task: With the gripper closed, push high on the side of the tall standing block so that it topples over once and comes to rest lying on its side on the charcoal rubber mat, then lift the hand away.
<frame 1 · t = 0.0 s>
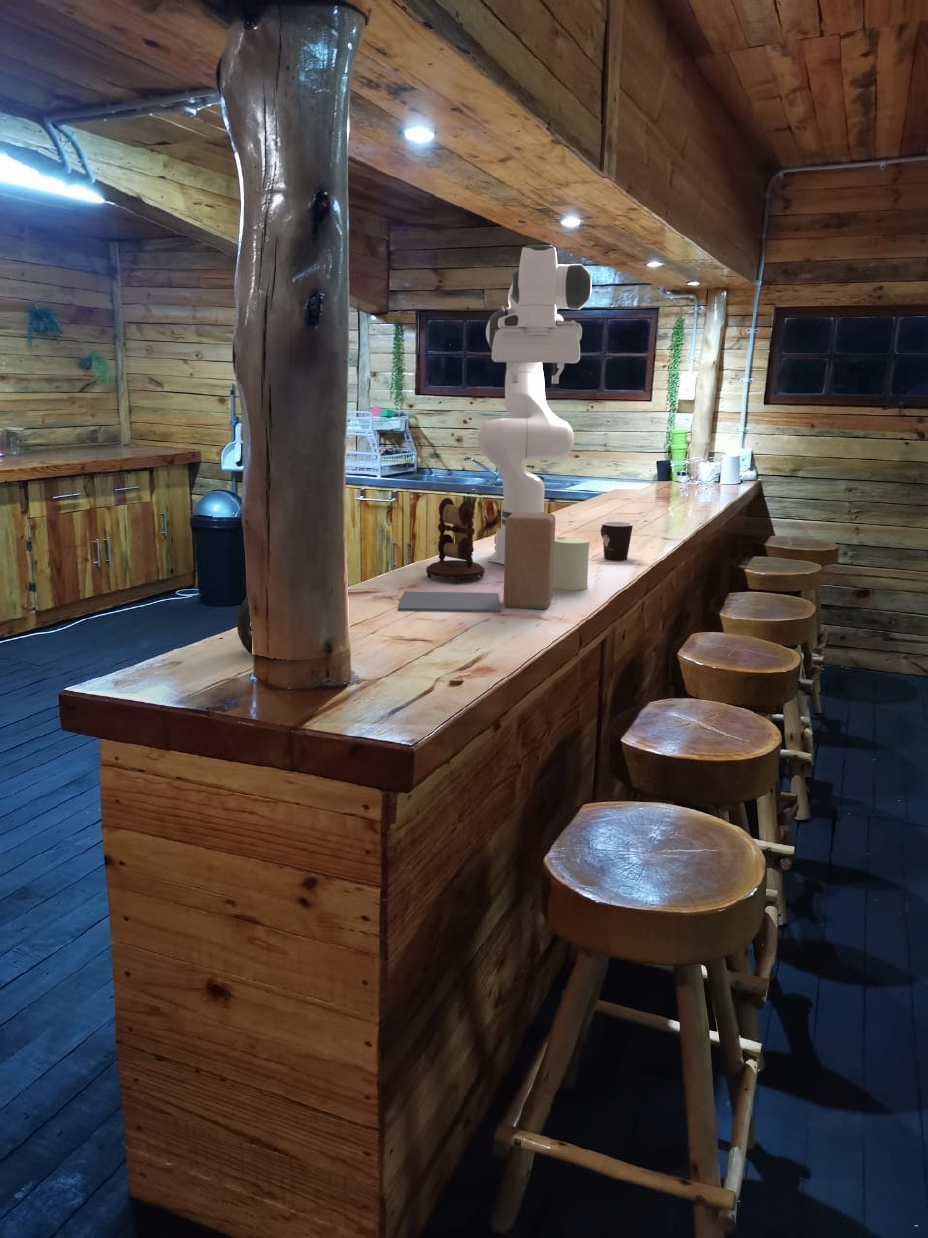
hand: (534, 383, 206), 48 cm above the countertop, fingers open, 8 cm apart
can: (568, 587, 219), on the countertop
squash: (280, 654, 162), on the countertop
wooden spool stand: (455, 578, 227), on the countertop
coffee mug: (614, 558, 257), on the countertop
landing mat: (450, 602, 201), on the countertop
block: (528, 604, 201), on the countertop
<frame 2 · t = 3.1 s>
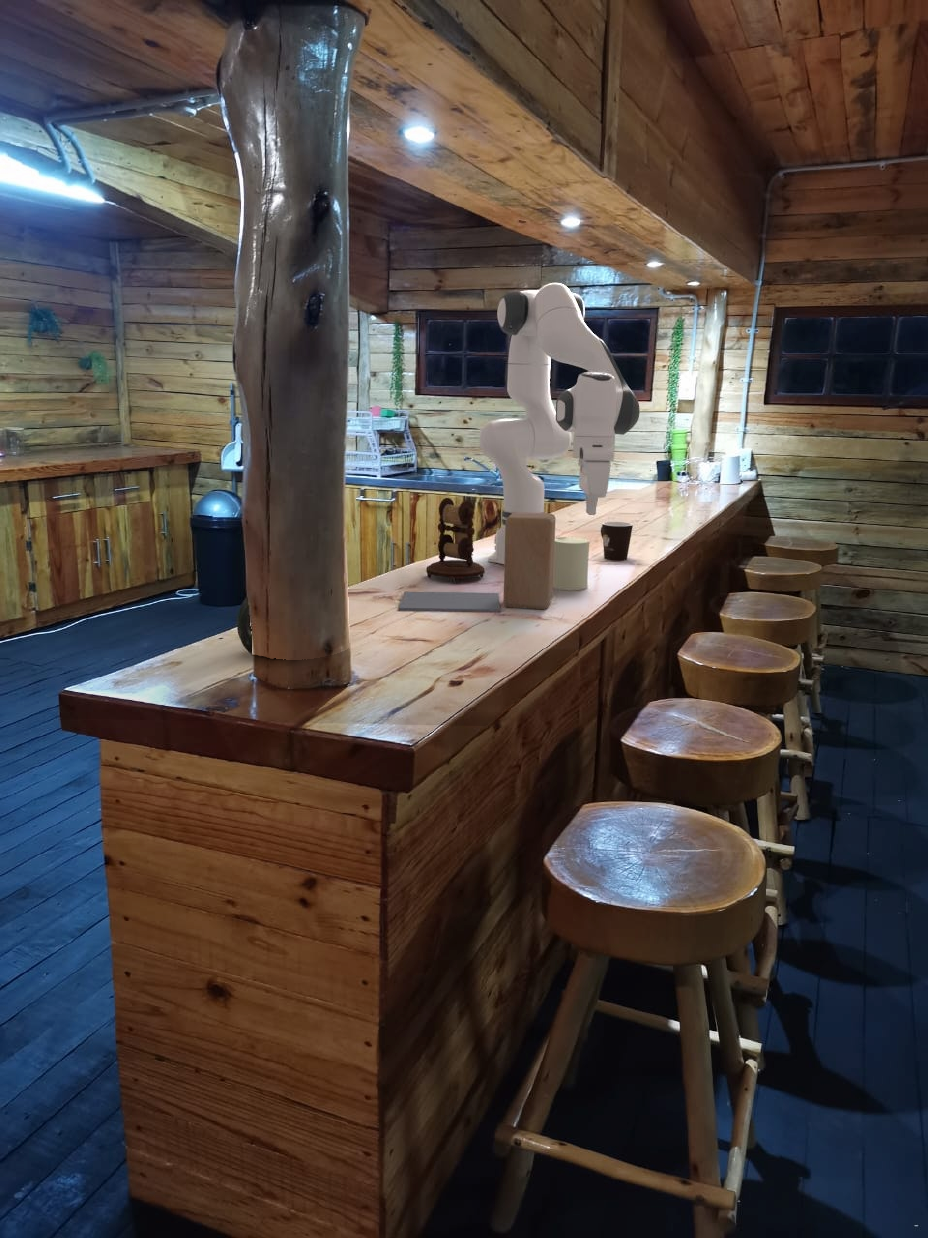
hand: (590, 514, 195), 20 cm above the countertop, fingers closed
nothing on the countertop moved.
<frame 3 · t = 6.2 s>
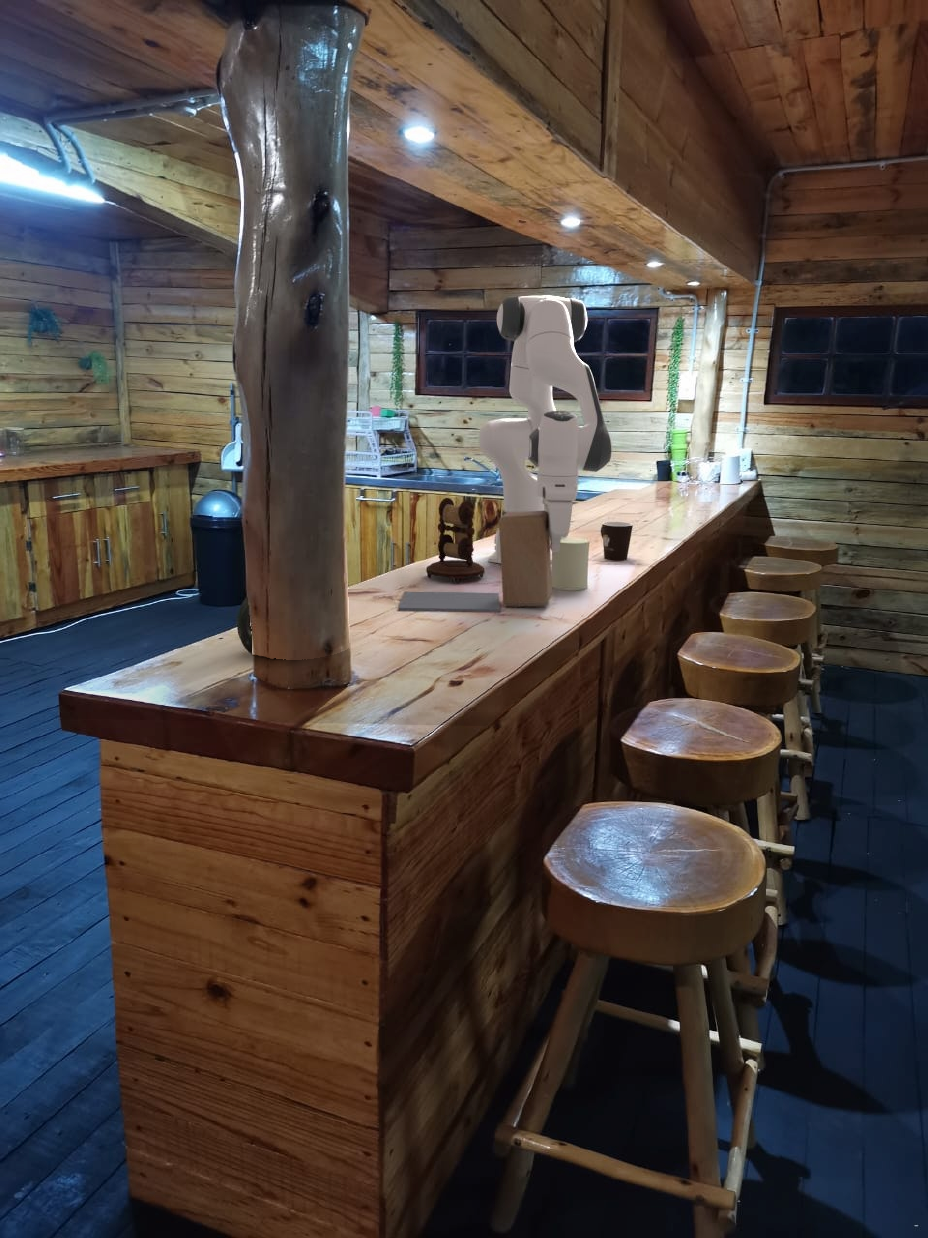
hand: (554, 550, 197), 12 cm above the countertop, fingers closed
block: (528, 603, 201), on the countertop, touching gripper
everything else where it was.
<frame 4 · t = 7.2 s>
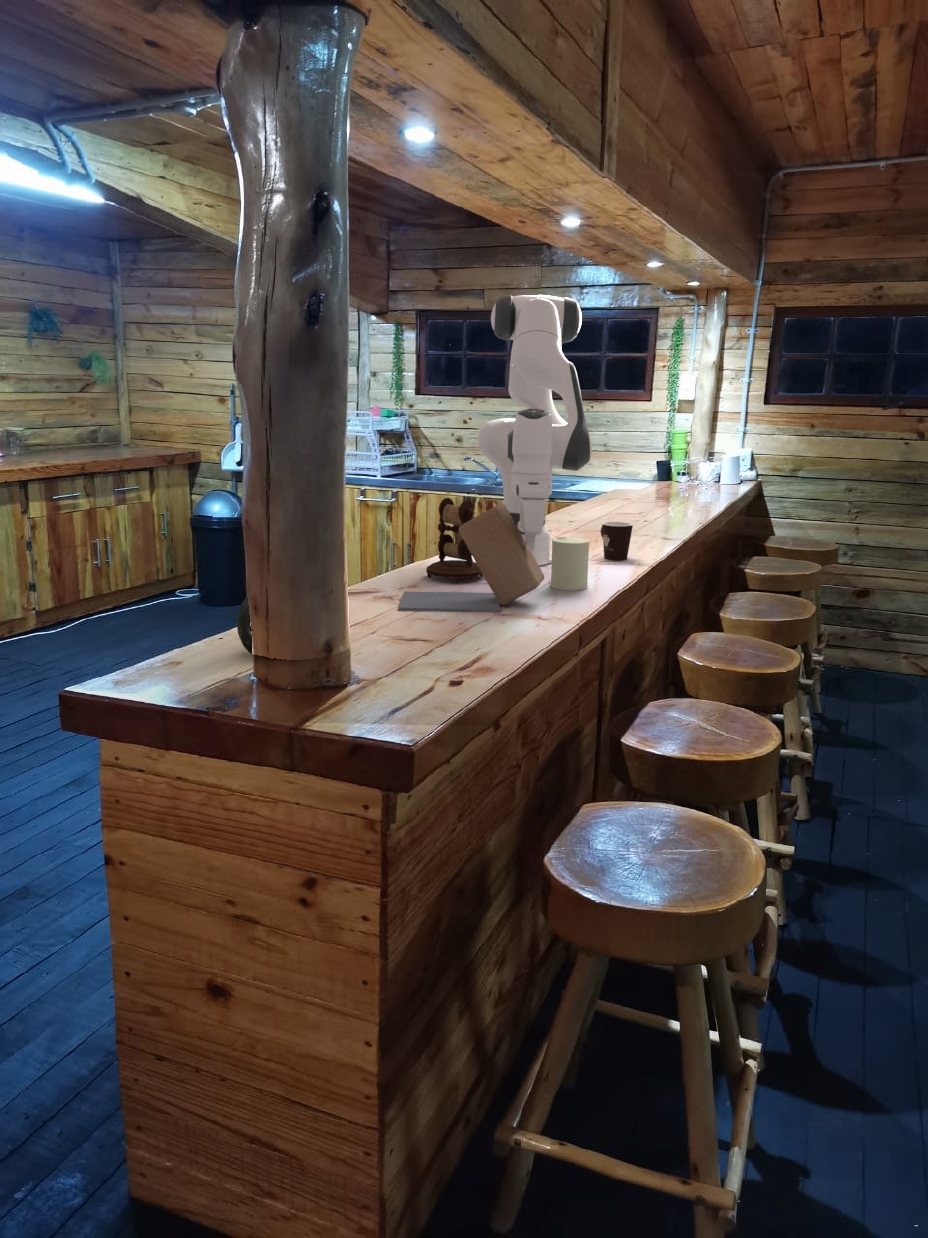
hand: (529, 549, 197), 13 cm above the countertop, fingers closed
block: (524, 593, 200), point 2 cm above the countertop, touching gripper, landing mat
everything else where it was.
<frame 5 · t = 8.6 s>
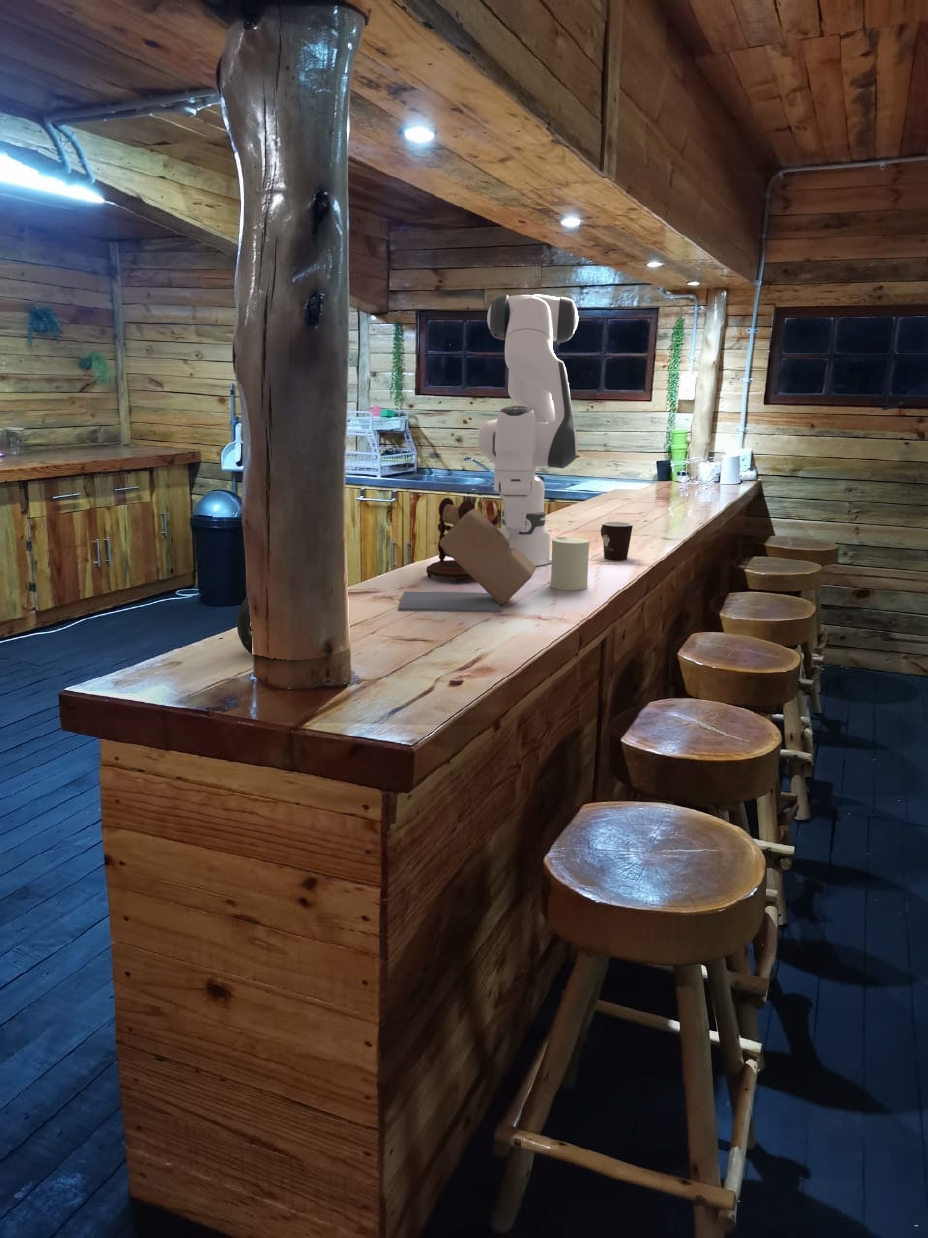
hand: (512, 546, 197), 13 cm above the countertop, fingers open, 3 cm apart
block: (520, 587, 200), point 4 cm above the countertop, touching gripper, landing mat
everything else where it was.
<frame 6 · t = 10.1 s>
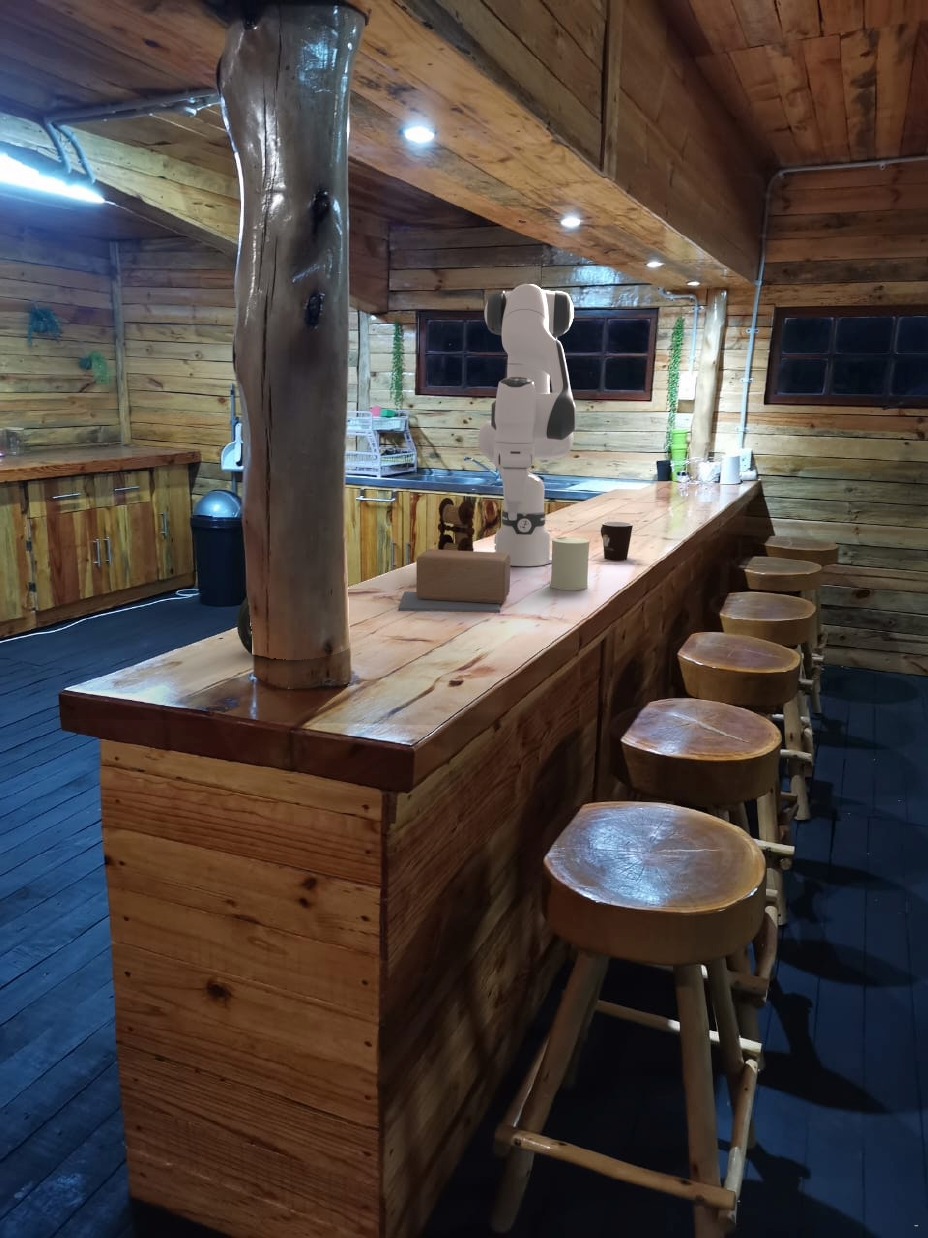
hand: (512, 519, 196), 19 cm above the countertop, fingers closed
block: (508, 578, 200), point 6 cm above the countertop, touching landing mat
everything else where it was.
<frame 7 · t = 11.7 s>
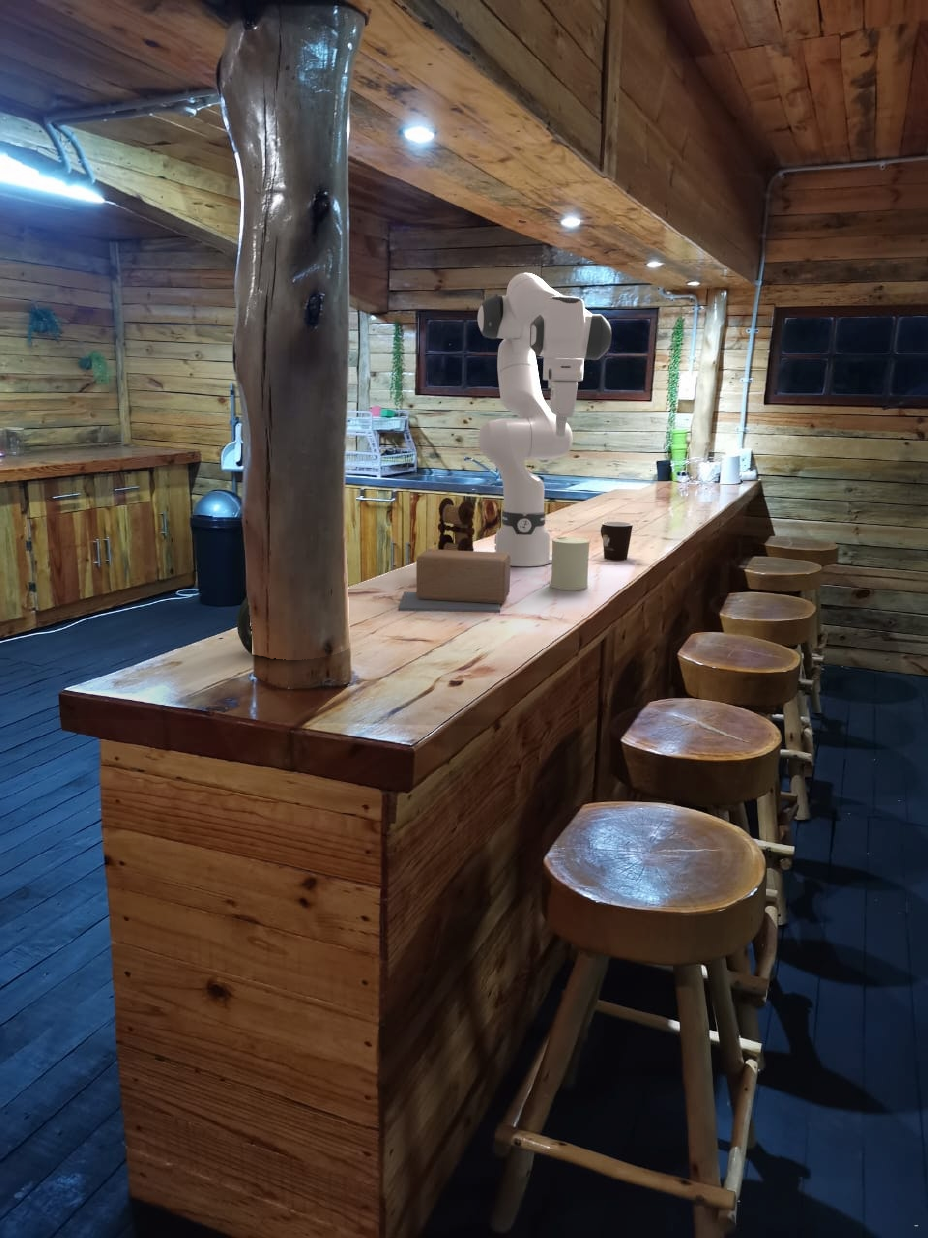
hand: (560, 436, 202), 36 cm above the countertop, fingers closed
nothing on the countertop moved.
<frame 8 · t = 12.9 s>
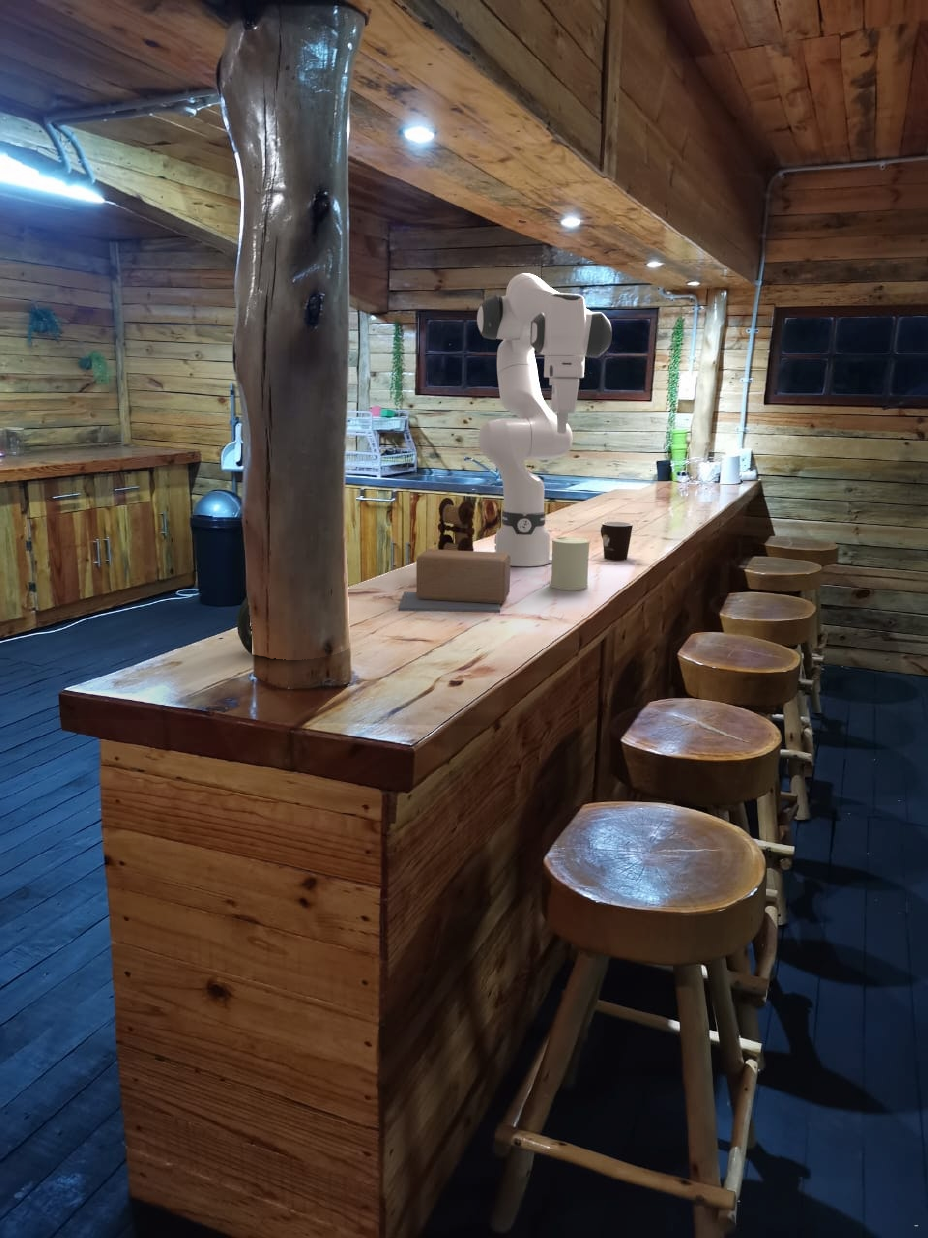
hand: (561, 433, 202), 37 cm above the countertop, fingers closed
nothing on the countertop moved.
at the end: block tilted 90°; block touching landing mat; block inside the target area (8.0 cm from its centre), point 5.6 cm above the countertop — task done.
